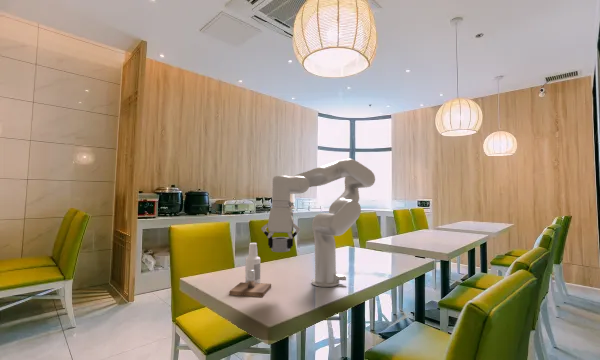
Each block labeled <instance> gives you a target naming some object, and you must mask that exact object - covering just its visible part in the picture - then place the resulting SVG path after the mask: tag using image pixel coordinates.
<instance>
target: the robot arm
mask: <svg viewBox="0 0 600 360" xmlns="http://www.w3.org/2000/svg"><path fill="white" fill-rule="evenodd" d="M342 178H344V191H343V192H342V193H341V195H340V196H339V197H337V199H335V200H334V201H333V202H332V203H331V205H330V206H329V208H328V212H329V213H328V212H321V213H317V214H316V215H315V216H314V217H313V220H312V225H311V226H312V233H313V237H314V278H313V279H312V280H311V284H312V285H313V286H315V287H316V286H317V287H320V288H330V287H331V288H333V287H337V286H339V285H340V281H347V275H343V274H338V272H337V271H336V270H337V260H336V251H337V250H336V249H337V247H336V240H335V237H337V236H338V237H340V236H342V235H344V234H345V233H346V232H347V231H348V230H349V229H350V228H351V227H352V226H353V225H354V224H355V223H356V222H357V220H358V219H359V217H360V216H361V211H362V210H361V209H362V208H361V204H360V203H359V201H360V193H359V192H360V191H359V189H362V188H365V189H366V188H370V187H372V186H373V185H374V184H375V182H376V175H375V173H374V172H373V171H372V170H371V169H369V168H368V167H367V166H365V165H363V164H362V163H360V162H359V161H358V160H355V159H354V158H347V159H346V158H345V159H340V160H335V161H334V162H331V163H327V164H325V165H321V166H319V167H315V168H313V169H310V170H306V171H305V172H301V173H298V174H295V175H292V176H288V175H275V176H273V178H272V191H271V192H272V193H271V194H272V197H271V198H272V201H271V202H272V203H271V204H272V205H271V207H272V208H270V211H269V215H268V222H267V223H266V224H264V225H263V226H262V227H261V231H262V232H263V233H264V236H266V237H267V239H268V241H267V243H268V244H267V245H268V247H269V249H271V241H272V238H274V237H273V235H274V234H275V233H278V234H279V233H281V234H283V233H285V234H286V233H287V235H288V238H289V249H290V250H291V248H293V246H294V238H295V237H296V236H297V235H298V234H299V233H300V231H301V228H300V227H299V226H298V225H296V224H295V223H294V212H293V208H291V207H293V206H294V203H295V202H292V201H291V195H293V194H294V195H295V194H296V195H297V194H300V195H301V194H305V193H306V192H307V191H308V190H309V188H313V187H320V186H325V185H327V184H329V183H332V182H335V181H337V180H340V179H342ZM267 228H268V229H267ZM294 229H295V231H294ZM267 230H268V231H267ZM293 231H294V232H293Z"/></svg>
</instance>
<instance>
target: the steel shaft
mask: <svg viewBox="0 0 600 360" xmlns="http://www.w3.org/2000/svg"><path fill="white" fill-rule="evenodd" d="M254 287H255V270H254V269H249V270H248V288H254Z"/></svg>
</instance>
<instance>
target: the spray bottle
mask: <svg viewBox="0 0 600 360" xmlns="http://www.w3.org/2000/svg"><path fill="white" fill-rule="evenodd" d="M257 245H258V243H257V242H250V243H249V247H248V256H247V257H246V258H245V263H244V264H245V266H244V267H245V275H244V278H245V282H244V283H248V270H249V269H254V270H255V283H261V257H260V256H259V255H258V246H257Z"/></svg>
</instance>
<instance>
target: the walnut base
mask: <svg viewBox="0 0 600 360" xmlns="http://www.w3.org/2000/svg"><path fill="white" fill-rule="evenodd" d="M271 288H272V283H265V282H264V283H261V282H260V283H255V287H254V288H248V283H245V282H243V281H242V282H239V283H238V284H237V285H235V286H234V287H233V288H232V289H230V290H229V294H228V295H229V296H244V297H245V296H246V297H264V296H265V295H266V294H267V293H268V292H269V290H270V289H271Z"/></svg>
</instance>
